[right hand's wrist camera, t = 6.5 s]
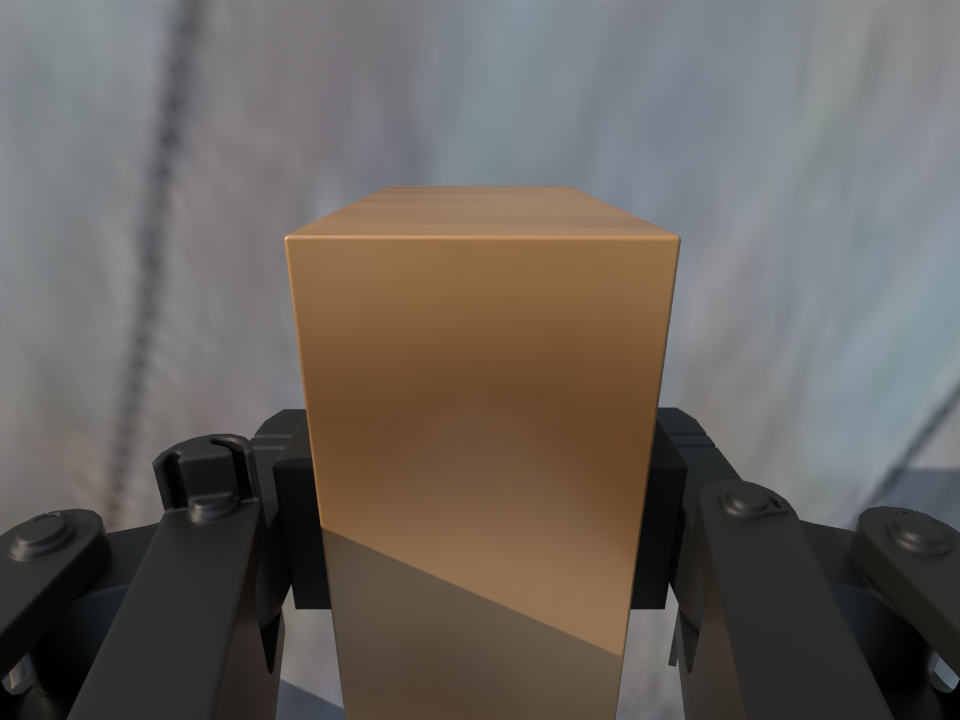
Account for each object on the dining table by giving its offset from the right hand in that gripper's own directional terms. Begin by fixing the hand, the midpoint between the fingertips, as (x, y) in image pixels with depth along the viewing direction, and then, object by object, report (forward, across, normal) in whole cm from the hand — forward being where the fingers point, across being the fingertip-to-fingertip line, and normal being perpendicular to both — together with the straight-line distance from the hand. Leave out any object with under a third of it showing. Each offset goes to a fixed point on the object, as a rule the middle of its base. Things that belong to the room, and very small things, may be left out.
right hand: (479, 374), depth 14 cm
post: (0, 0, -22) cm, 22 cm away
